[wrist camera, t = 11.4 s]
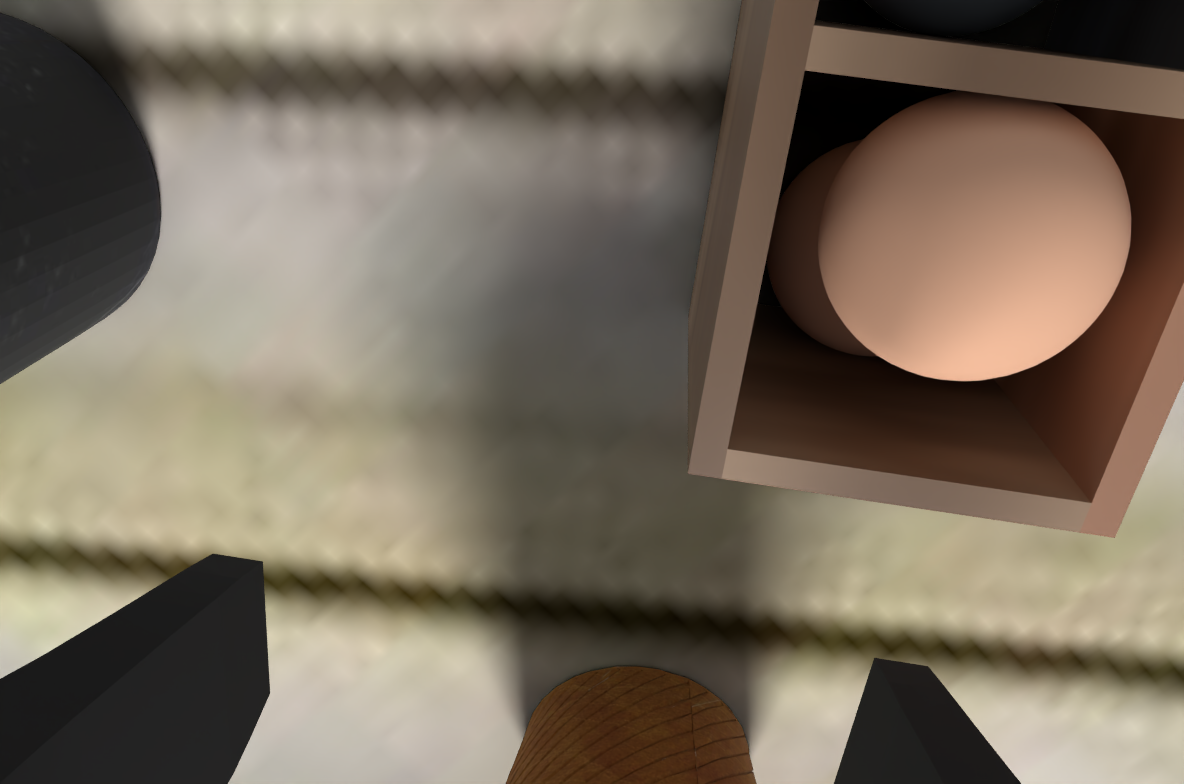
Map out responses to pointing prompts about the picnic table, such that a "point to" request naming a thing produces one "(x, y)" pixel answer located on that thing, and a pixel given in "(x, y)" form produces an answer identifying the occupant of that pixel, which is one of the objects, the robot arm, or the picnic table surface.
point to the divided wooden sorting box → (907, 400)
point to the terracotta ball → (974, 235)
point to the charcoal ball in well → (951, 14)
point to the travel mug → (65, 197)
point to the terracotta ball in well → (808, 255)
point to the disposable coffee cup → (632, 733)
